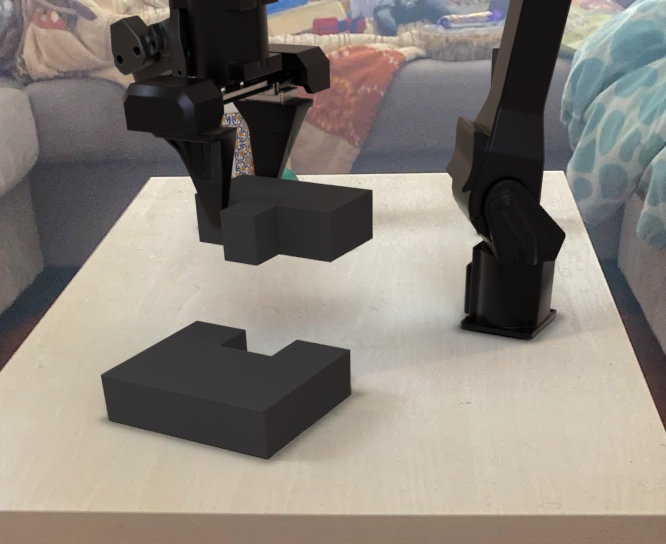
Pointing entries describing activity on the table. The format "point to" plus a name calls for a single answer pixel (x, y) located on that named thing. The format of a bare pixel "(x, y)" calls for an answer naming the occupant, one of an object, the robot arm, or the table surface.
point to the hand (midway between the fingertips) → (242, 213)
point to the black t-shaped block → (288, 220)
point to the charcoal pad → (227, 389)
